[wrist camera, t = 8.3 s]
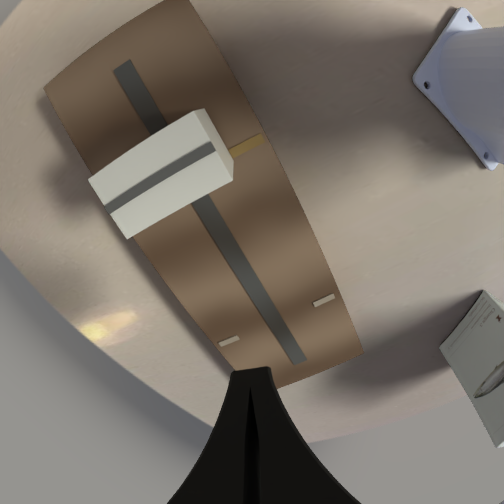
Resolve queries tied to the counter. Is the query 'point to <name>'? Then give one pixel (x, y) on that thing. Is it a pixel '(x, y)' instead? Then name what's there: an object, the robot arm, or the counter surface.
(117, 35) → the fader board
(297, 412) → the counter surface
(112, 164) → the fader knob
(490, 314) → the supplement box
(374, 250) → the counter surface
